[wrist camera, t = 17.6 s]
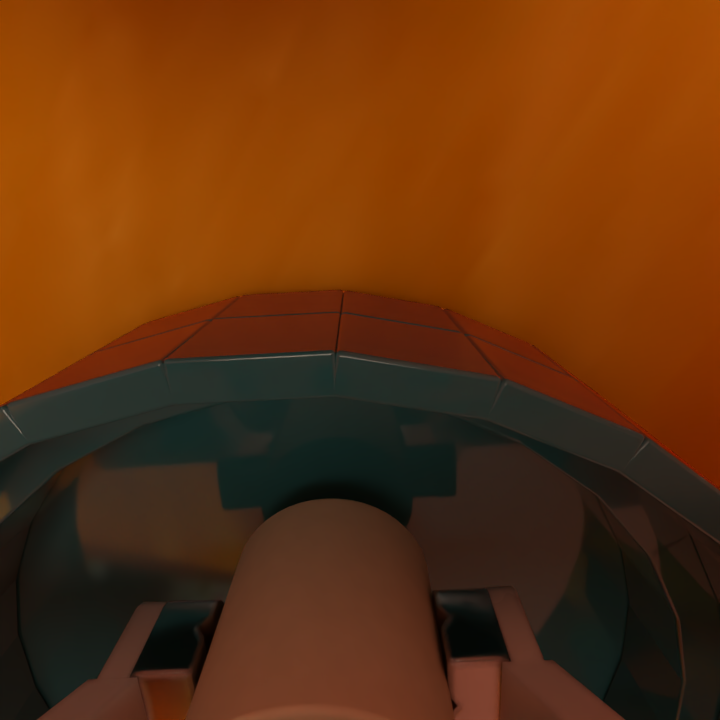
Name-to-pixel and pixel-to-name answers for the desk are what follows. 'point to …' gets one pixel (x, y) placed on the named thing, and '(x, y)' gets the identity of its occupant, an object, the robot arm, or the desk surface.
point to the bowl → (351, 488)
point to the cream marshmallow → (326, 623)
